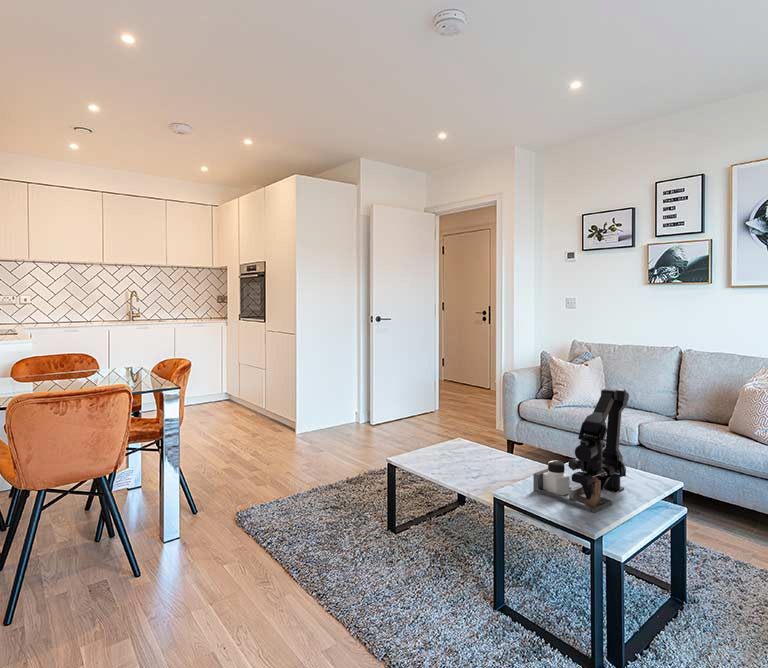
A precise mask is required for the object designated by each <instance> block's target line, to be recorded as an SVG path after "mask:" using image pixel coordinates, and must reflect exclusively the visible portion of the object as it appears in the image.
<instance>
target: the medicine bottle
mask: <svg viewBox="0 0 768 668" xmlns="http://www.w3.org/2000/svg"><path fill="white" fill-rule="evenodd" d="M547 469H548V472H547V473H543V490H546V491H549V492H552V493H555V494H558V495H561V496H566V495H569V487H571V485H570V481H571V480H570V479H571V478H570V477H571V476H570V475H569V474H566V473H565V463H564V462H563V461H561V460H550V461H548V463H547Z"/></svg>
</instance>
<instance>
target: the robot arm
mask: <svg viewBox="0 0 768 668" xmlns="http://www.w3.org/2000/svg"><path fill="white" fill-rule="evenodd" d="M629 398H630V395H629V392H628V391H626V389H624V388H614V387H613V388H612V387H608V388H603V389H601V391H600V397H599V399H598V401H597V403H596V405H595V408H594V409H593V412H592V413H591V414H588V415H587V416H586V417H585V419H584V421H582V423H581V426H580V429H579V433H578V437H577V440H579V441H581V440H583V441H581V445H580V444H579V445H578V446H577V447H575V449H574V455H575V458H573V459H572V458H571V459H568V465H567V467H569V469H571V470H572V471H575V470H580V471H577V472H574V473H573V474H571V482H574V483H577V484H579V485H582V487H583V490H584V492H585V495H586V498H587V499H588V500H590V498H591V495H592V492H593V489H594V486H595V483H594V482H593V477H596V478H598V480H600V481H601V493H602V492H603V490H606V491H609V492H612V493H618V492H621V491H623V490H625V487H624V486H621V478H623V477H626V476H627V468H626V465H625V462H624V461H623V455H622V453H621V450H620V448H619V447H620V436H621V425H622V424H621V422H622V412H623V411H624V410H625V408H626V407H627V405H628V401H629ZM606 420H607V424H606ZM591 436H592V437H591ZM602 441H603V442H604V441H605V447H604V450H603V451H602ZM584 471H585V472H586V473H585V472H584Z"/></svg>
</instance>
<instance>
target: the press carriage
mask: <svg viewBox="0 0 768 668" xmlns="http://www.w3.org/2000/svg"><path fill="white" fill-rule="evenodd" d="M593 482H594V483H595V486H594V489H593V492H592V495H591V498H590V500H588V499H587V498H586V495H585V492H584V490H583V487H582V485H581V484H579V485H577V486H575V487H572V489H569V494H568V495H569V496H568V498H569V499H572V500H575V501H578V502H581V503H584V504H586V505H589V506H592V507H594V506H596V505H598V504H600V503H601V502H600V499H601V497H602V496H601V494H602V492H601V481H600V480H598V478H596V477H593Z"/></svg>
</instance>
